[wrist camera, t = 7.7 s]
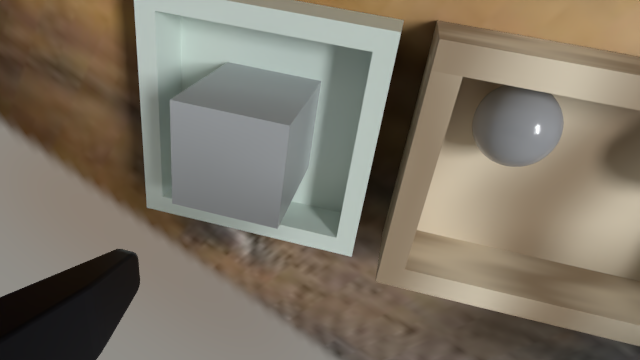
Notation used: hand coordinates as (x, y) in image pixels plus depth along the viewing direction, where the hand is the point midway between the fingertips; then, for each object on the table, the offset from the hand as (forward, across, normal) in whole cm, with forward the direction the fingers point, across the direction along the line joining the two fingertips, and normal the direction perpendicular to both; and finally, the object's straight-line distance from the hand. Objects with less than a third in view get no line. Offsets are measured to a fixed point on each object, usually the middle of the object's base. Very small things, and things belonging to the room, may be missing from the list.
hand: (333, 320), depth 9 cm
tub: (+11, +5, 0) cm, 12 cm away
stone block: (+11, +5, 0) cm, 12 cm away
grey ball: (+11, -4, -2) cm, 12 cm away
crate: (+12, -8, 0) cm, 14 cm away
